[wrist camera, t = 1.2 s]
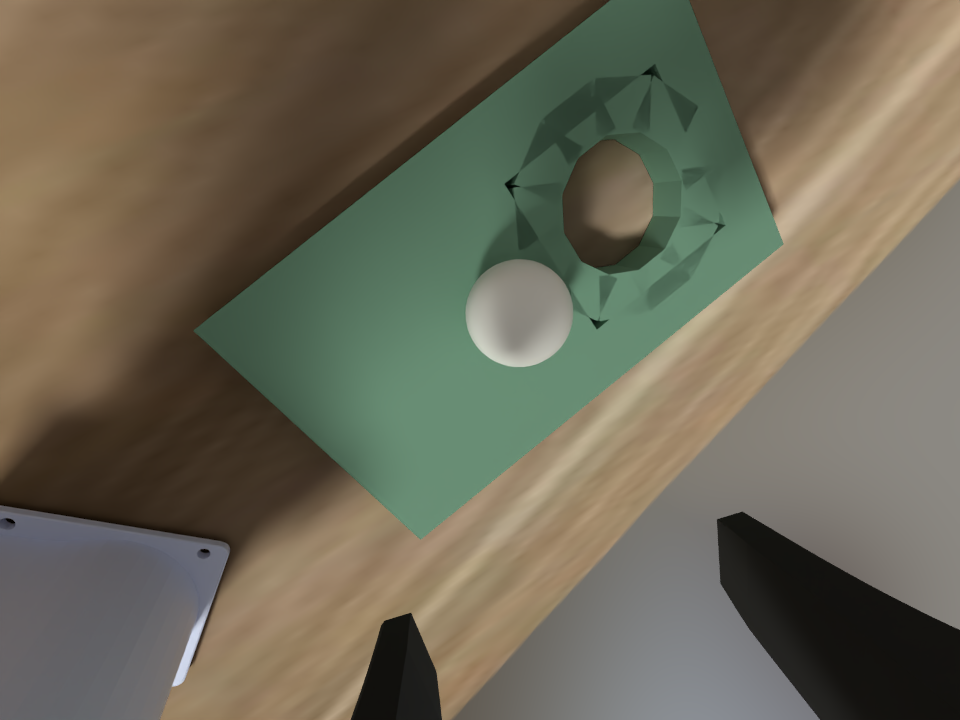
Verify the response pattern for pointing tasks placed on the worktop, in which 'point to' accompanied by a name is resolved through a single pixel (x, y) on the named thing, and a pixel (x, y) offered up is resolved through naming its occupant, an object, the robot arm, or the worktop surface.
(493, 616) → the worktop surface
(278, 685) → the worktop surface
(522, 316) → the ball
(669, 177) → the putting mat
